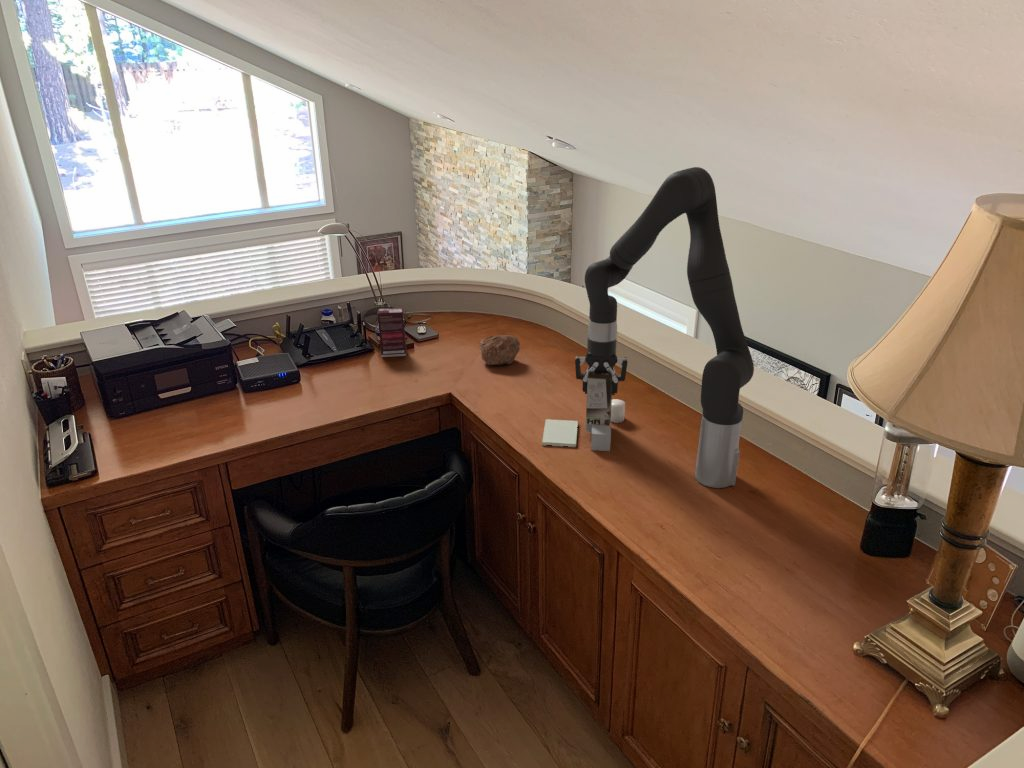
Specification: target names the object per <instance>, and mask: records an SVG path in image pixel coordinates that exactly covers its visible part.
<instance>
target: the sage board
mask: <svg viewBox="0 0 1024 768" xmlns="http://www.w3.org/2000/svg"><path fill="white" fill-rule="evenodd" d="M544 422H545V423H544V429H543V435H542V441H541V445H542V446H546V445H552V447H563V446H568V447H567V448H576V447H577V438H578V437H577V436H578V428H577V427H579V425H578V424H579V421H578V420H566V419H565V420H564V419H563V420H562V419H548V418H546V419H545V421H544Z"/></svg>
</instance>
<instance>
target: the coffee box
mask: <svg viewBox="0 0 1024 768" xmlns="http://www.w3.org/2000/svg"><path fill="white" fill-rule="evenodd" d="M612 381H613V380H612V375H609V373H608V372H607V373H603V372H598V373H595V372H593V373H592V374H588V382H587V394H586V406H585V407H586V412H585V432H586V433H592V425H607V426H611V425H610V424H611V422H610V421H611V406H612V399H613V395H612Z"/></svg>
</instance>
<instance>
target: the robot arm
mask: <svg viewBox="0 0 1024 768" xmlns="http://www.w3.org/2000/svg"><path fill="white" fill-rule="evenodd" d="M715 187H716V186H715V183H714V180H713V178H712V175H711V174H710V173H709V172H708V171H707V170H706V169H704V168H702V167H700V166H699V167H698V166H696V167H695V166H694V167H689V168H685V169H682V170H678V171H675V172H673V173H671V174H670V175H668V176H667V177H666V179H665V180H663V182H662V183H661V185H660V186H659V188H658V190H657V191H656V193H655V194H654V196H653V198H652V199H651V200H650V202H649V203H648V204H647V206H646V207H645V209H644V211H643V212H642V213H641V214H640V216H638V218H637V220H636V221H634V222H633V224H632V225H631V226H630V227H629V228H628V229H627V230H626V231H625V232H624V233H623V234H622V235H621V236H620V237H619V238H618V239H617V241H616V242H615V243H614V244H613V245H612V246H611V247H610V251H609V256H608V257H607V258H605V259H601V260H599V261H596V262H593V263H592V264H591V263H590V265H589V266H587V268H586V270H585V273H584V285H585V290H586V294H587V299H588V301H589V314H588V315H589V316H588V317H589V318H588V324H587V325H588V326H587V349H586V351H587V352H586V355H585V356H580V355H575V359H574V363H575V378H576V380H581V381H582V392H583V393H584V394H585V395H587V382H588V374H592V373H593V372H595V373H598V372H603V373H607V372H608V373H609V375H612V380H613V381H612V396H615V394H618V387H619V386H618V385H619V383H620V382H625V381H626V376H627V369H628V358H627V357H626V356H623V357H618V356H617V337H618V320H617V317H618V301H617V299H616V298H615V297H614V296H613V295H609V290H608V289H609V288H612V287H614V286H617V285H619V284H620V283H621V282H623V281H624V280H625V279H626V278H627V276H628V275H629V273H631V270H632V269H633V266H635V265H636V263H638V262H639V261H640V260H641V259H642V258H643V257H645V255H646V254H647V252H648V251H650V249H651V248H652V247H653V245H654V243H655V242H656V240H657V238H658V236H659V235H660V233H661V232H662V231H663V230H664V229H665V228H666V227H667V226H668V225H669V224H670V223H671V222H673V221H674V220H676V219H678V218H679V217H680V216H682V215H684V214H686V218H687V222H688V227H689V233H690V234H689V235H690V242H689V249H688V256H687V263H686V264H687V265H686V276H687V281H688V285H689V291H690V293H691V298H692V300H693V301H692V302H693V304H694V305H695V307H696V309H697V310H698V312H699V313H700V315H701V316H702V317H703V319H704V320H705V322H706V323H707V324H708V326H709V328H710V330H711V333H712V336H713V338H714V339H713V340H714V343H715V344H714V345H715V349H716V356H714V357H712V358H711V359H709V360H708V361H707V362H706V363H705V366H704V367H703V371H702V377H701V389H700V404H701V409H702V412H701V413H702V414H701V422H700V430H699V438H698V439H699V440H698V446H697V447H698V448H697V455H696V465H695V471H694V472H695V473H694V474H695V475H694V477H695V480H696V481H697V482H698V483H700V484H701V485H703V486H706V487H709V488H712V489H713V488H715V489H721V488H722V489H723V488H728V487H730V486H736V481H737V473H738V466H739V460H740V454H741V453H740V451H741V450H740V449H739V444H740V437H741V429H742V422H743V416H744V407H743V406H742V404H741V403H739V401H740V400H739V399H740V390H741V389H742V388H743V387H744V386H745V385H747V384H748V383H749V382H750V381H751V379H752V378H753V377H754V372H755V364H754V360H753V357H752V354H751V351H750V348H749V346H748V345H749V344H748V342H747V339H746V337H745V333H744V330H743V327H742V324H741V318H740V313H739V309H738V308H739V307H738V305H737V301H736V297H735V292H734V291H735V290H734V285H733V280H732V276H731V272H730V269H729V268H730V267H729V264H728V261H727V255H726V250H725V246H724V242H723V237H722V233H721V226H720V220H719V212H718V211H719V210H718V202H717V194H716V188H715ZM584 362H585V363H586V365H587V366H588V367H587V369H586V370H585V372H584V373H582V371H581V369H582V368H581V366H583V364H584ZM617 363H618V364H619V366H620V367H621V369H620V374H619V375H618V374H617V371H616V370H615V368H614V367H615V365H616V364H617Z"/></svg>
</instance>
